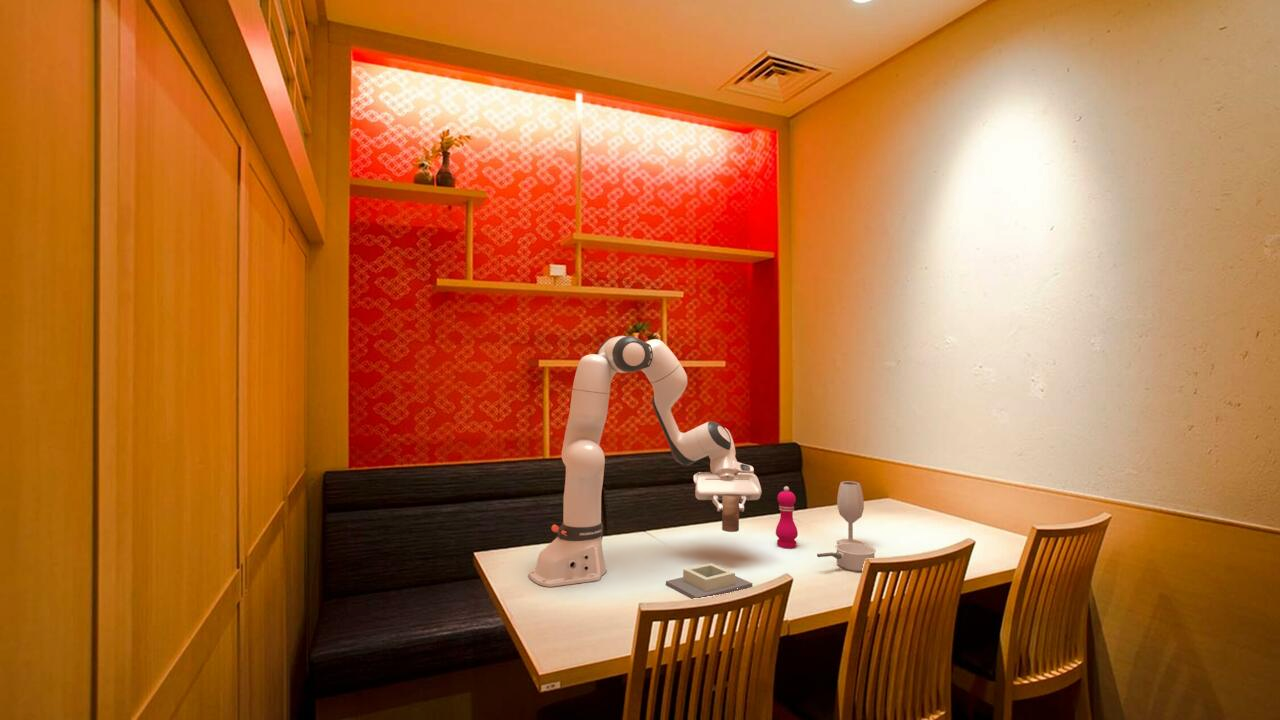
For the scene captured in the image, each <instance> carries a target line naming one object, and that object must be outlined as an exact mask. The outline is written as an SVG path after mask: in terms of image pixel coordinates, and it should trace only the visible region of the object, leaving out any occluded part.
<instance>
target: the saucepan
mask: <svg viewBox="0 0 1280 720" xmlns="http://www.w3.org/2000/svg"><path fill="white" fill-rule="evenodd" d="M835 549H836V552H821V553H817V554H816V556H817V558H825V557H833V558H835V559H836V564H837V565H839V566H840V567H841V568H843V569H845V570H847V569H848V571H851V570H852V572H863V571H862V568H863V564H864V561H865V559H866V558H876V557H875V553H876V548H874V547H872V546H870V545H867V544H865V545H862V544H855V543H843V544H838V543H837V544H836V545H835Z"/></svg>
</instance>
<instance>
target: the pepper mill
mask: <svg viewBox="0 0 1280 720" xmlns="http://www.w3.org/2000/svg"><path fill="white" fill-rule="evenodd" d="M776 498H777V502H778V503H779V504H778V507H779V508H778V510H780V511H779V512H780V517H779V521H778V523H777V525H776V528H775V536H776V537H777V541H776V545H777V547H778V548H781V547H782V549H787V548H790V549H795V548H796V547H797V541H796V538H797V537H798V534H799V533H798V528H797V525H796V524H795V521H794V517H793V513H794V511H795V505H794V504H795V503H796V500H797V499H796V495H795V494H794V493H793V492H792V491H790V488H789V486H787V485H786V486H784V487H783V490H782V491H780V492H778V494H777V497H776Z"/></svg>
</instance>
